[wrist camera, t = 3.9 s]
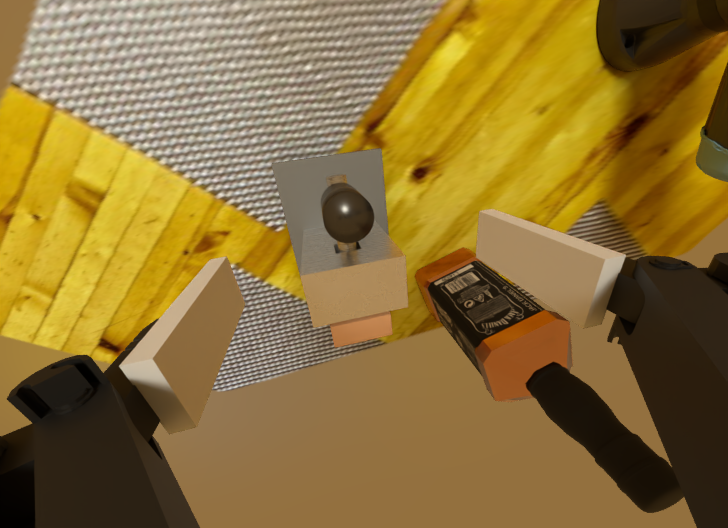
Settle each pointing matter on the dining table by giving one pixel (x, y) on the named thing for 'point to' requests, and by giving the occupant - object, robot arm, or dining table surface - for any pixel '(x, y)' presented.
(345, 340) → the spacer
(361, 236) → the crank handle
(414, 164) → the dining table surface
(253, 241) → the dining table surface
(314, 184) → the base board
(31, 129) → the dining table surface
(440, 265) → the whiskey bottle
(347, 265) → the block
